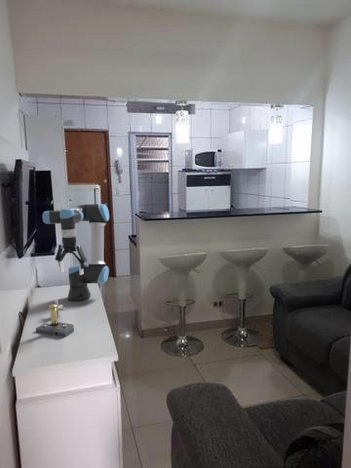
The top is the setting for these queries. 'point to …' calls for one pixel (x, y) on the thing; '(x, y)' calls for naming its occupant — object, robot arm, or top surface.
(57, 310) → the white crossed rod jack
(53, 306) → the pin
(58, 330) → the square socket block
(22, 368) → the top surface
